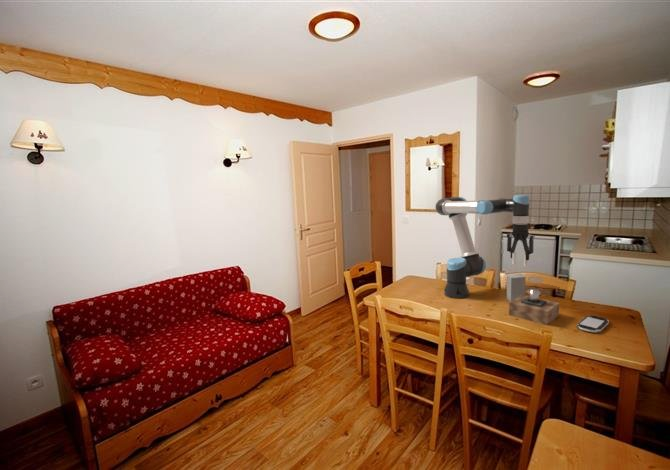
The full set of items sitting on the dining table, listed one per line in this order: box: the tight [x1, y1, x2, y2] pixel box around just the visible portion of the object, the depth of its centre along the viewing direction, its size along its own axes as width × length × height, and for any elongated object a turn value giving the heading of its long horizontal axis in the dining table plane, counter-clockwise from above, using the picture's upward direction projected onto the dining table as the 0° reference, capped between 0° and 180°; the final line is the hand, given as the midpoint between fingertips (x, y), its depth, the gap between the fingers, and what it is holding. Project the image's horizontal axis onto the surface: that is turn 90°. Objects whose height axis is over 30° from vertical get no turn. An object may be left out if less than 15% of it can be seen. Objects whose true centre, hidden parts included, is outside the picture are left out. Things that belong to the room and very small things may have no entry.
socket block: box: [508, 294, 560, 326], centre depth 168 cm, size 18×16×8 cm
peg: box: [529, 288, 540, 303], centre depth 167 cm, size 4×4×8 cm
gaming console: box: [576, 315, 610, 334], centre depth 153 cm, size 19×9×2 cm, turn 126°
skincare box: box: [506, 273, 526, 302], centre depth 189 cm, size 8×7×16 cm
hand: (519, 264), depth 176 cm, fingers open, 5 cm apart
